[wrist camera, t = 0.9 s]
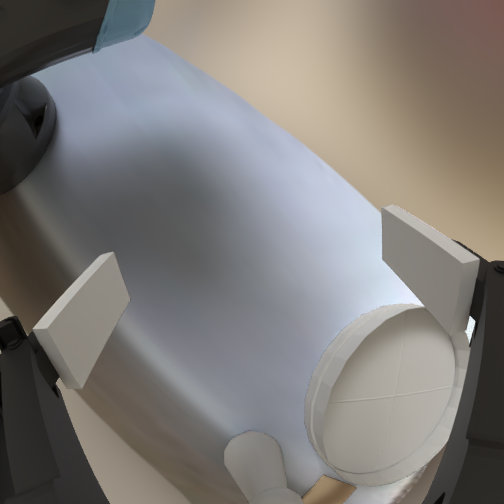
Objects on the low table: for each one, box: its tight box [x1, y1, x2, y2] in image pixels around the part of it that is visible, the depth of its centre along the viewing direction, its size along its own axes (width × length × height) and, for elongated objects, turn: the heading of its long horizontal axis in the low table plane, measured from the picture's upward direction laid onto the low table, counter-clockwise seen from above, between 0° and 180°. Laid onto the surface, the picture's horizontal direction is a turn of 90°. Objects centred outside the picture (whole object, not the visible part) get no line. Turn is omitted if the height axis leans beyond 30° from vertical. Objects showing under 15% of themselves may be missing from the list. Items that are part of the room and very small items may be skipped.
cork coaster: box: [302, 475, 356, 504], centre depth 29 cm, size 6×6×1 cm
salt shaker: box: [224, 430, 304, 504], centre depth 22 cm, size 6×6×13 cm
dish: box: [304, 304, 471, 486], centre depth 30 cm, size 22×22×5 cm
